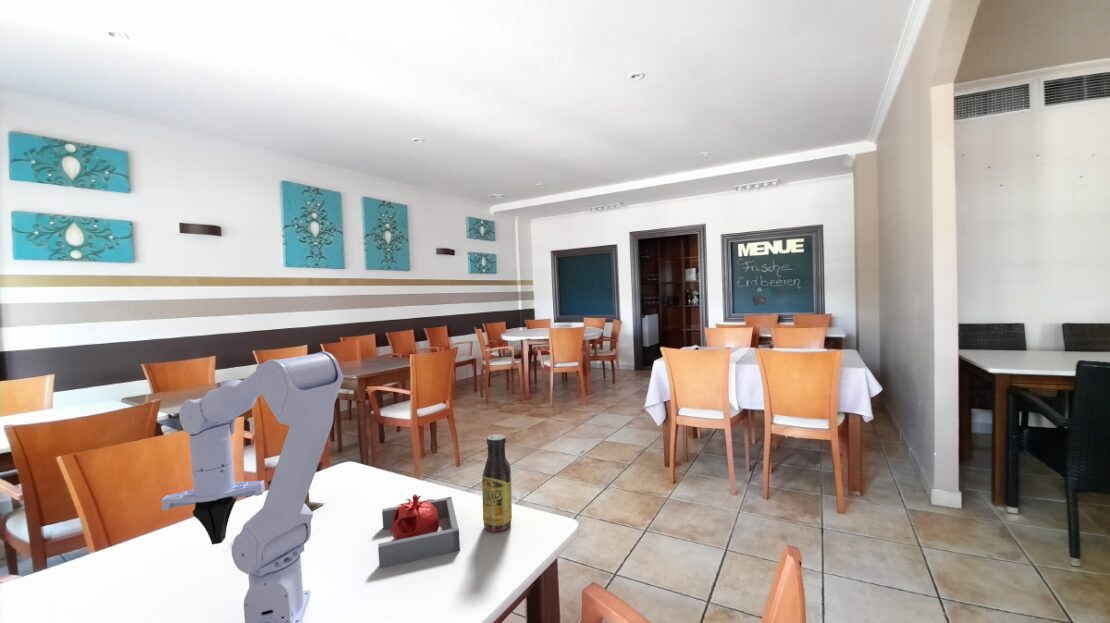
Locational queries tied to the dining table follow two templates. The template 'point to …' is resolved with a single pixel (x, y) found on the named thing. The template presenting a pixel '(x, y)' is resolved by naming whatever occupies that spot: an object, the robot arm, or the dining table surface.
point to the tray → (420, 538)
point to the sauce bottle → (497, 486)
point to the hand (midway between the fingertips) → (218, 541)
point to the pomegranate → (414, 519)
